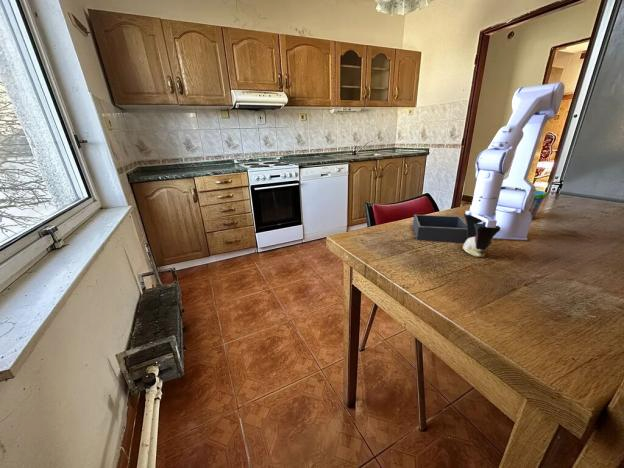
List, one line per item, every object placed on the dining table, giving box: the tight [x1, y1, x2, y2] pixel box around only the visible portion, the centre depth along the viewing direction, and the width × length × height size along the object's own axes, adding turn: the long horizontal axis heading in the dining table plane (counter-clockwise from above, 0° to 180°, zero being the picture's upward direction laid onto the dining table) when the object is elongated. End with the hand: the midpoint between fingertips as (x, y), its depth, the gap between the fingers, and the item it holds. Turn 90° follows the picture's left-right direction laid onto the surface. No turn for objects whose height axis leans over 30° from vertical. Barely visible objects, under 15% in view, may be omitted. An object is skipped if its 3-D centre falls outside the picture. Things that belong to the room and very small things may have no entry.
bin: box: [412, 214, 468, 244], centre depth 88 cm, size 16×14×5 cm
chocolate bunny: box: [462, 221, 494, 258], centre depth 73 cm, size 6×8×10 cm
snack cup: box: [515, 188, 547, 219], centre depth 101 cm, size 16×10×10 cm
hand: (475, 243), depth 73 cm, fingers open, 7 cm apart
